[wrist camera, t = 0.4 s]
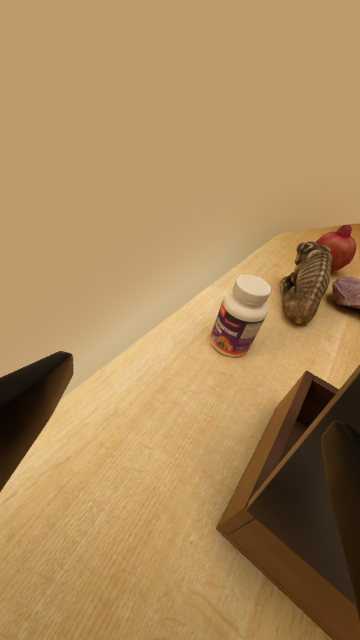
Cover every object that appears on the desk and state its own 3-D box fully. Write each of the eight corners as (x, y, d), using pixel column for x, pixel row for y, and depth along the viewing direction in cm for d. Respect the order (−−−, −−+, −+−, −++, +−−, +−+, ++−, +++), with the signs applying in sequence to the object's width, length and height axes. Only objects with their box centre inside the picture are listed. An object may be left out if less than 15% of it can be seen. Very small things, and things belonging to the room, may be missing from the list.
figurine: (311, 288, 49) (340, 240, 43) (312, 334, 39) (351, 280, 32) (280, 278, 50) (304, 229, 44) (272, 320, 40) (303, 264, 33)
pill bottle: (202, 334, 35) (220, 274, 29) (232, 325, 37) (255, 268, 31) (225, 363, 32) (251, 303, 25) (256, 351, 34) (288, 294, 28)
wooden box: (276, 406, 28) (306, 369, 24) (413, 497, 23) (483, 473, 19) (215, 528, 19) (245, 507, 15) (415, 717, 15) (548, 770, 10)
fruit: (333, 283, 52) (364, 237, 46) (298, 265, 56) (321, 220, 49) (345, 272, 57) (375, 229, 51) (312, 256, 61) (335, 214, 54)
